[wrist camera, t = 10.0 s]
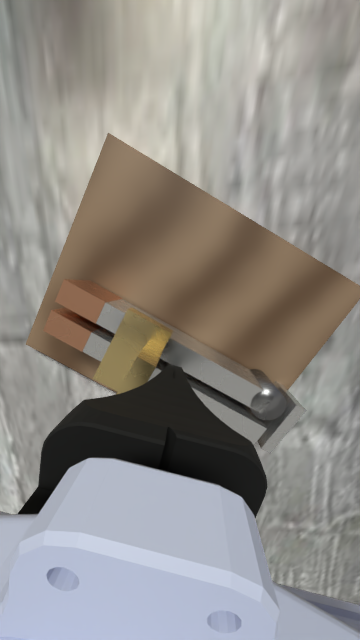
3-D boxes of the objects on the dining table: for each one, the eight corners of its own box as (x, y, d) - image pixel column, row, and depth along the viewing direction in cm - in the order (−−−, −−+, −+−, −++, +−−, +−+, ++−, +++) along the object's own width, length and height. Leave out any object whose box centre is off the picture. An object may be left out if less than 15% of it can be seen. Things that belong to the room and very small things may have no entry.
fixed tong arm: (283, 384, 16) (306, 410, 12) (255, 421, 16) (270, 453, 13) (92, 277, 15) (65, 275, 12) (73, 321, 16) (43, 330, 12)
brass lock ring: (176, 322, 14) (166, 349, 8) (142, 380, 15) (113, 440, 9) (142, 303, 14) (107, 317, 8) (110, 363, 15) (61, 413, 9)
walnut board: (355, 289, 15) (366, 290, 14) (232, 447, 18) (235, 456, 17) (114, 143, 14) (108, 132, 13) (35, 340, 17) (25, 344, 16)
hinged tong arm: (273, 377, 15) (293, 400, 12) (257, 399, 16) (272, 426, 13) (91, 275, 15) (66, 273, 12) (80, 302, 15) (53, 306, 12)
